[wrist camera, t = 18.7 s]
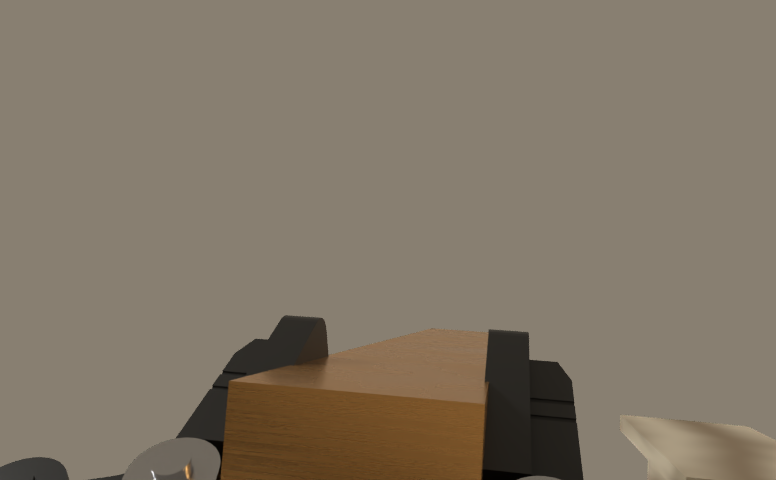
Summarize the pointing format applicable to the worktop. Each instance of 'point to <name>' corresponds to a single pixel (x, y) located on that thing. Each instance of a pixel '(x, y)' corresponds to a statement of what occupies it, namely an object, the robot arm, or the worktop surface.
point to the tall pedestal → (701, 449)
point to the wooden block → (365, 413)
